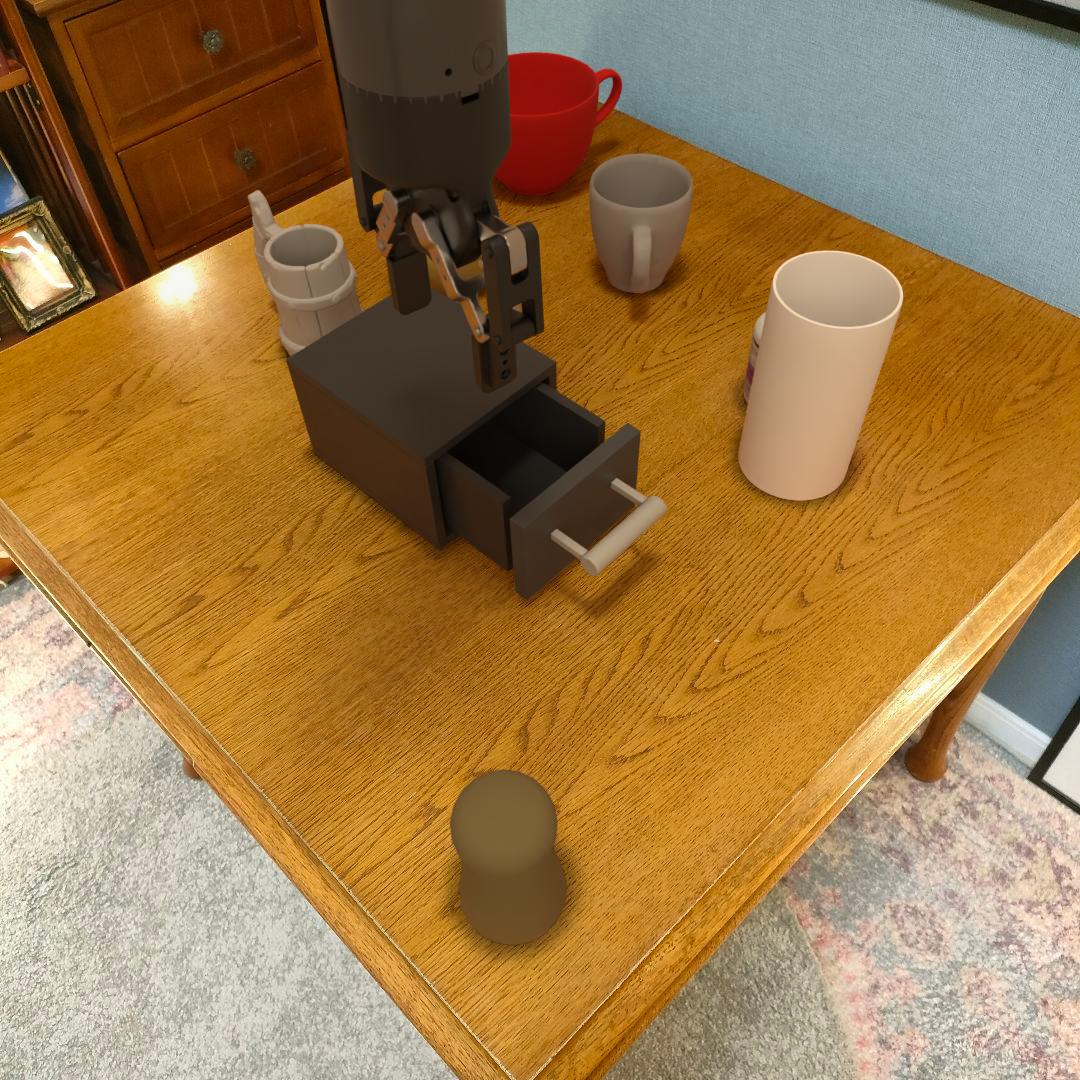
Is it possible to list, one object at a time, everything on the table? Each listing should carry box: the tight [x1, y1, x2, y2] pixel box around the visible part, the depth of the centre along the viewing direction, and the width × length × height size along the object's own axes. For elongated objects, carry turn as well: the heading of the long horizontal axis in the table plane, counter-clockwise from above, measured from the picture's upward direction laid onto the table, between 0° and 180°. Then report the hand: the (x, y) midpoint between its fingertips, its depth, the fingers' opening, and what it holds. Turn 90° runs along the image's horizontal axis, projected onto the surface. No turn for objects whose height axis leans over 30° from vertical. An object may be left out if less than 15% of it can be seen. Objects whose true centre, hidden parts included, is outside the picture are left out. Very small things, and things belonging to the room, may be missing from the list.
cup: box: [737, 250, 904, 502], centre depth 67 cm, size 8×8×16 cm
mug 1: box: [247, 189, 365, 357], centre depth 80 cm, size 8×12×12 cm, turn 45°
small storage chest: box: [285, 287, 558, 551], centre depth 71 cm, size 15×13×10 cm
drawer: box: [434, 382, 668, 602], centre depth 66 cm, size 18×11×8 cm, turn 47°
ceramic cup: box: [494, 51, 623, 197], centre depth 96 cm, size 13×17×10 cm
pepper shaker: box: [449, 769, 568, 946], centre depth 49 cm, size 6×6×11 cm
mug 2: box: [588, 153, 694, 294], centre depth 84 cm, size 12×9×10 cm
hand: (453, 344), depth 54 cm, fingers open, 8 cm apart
